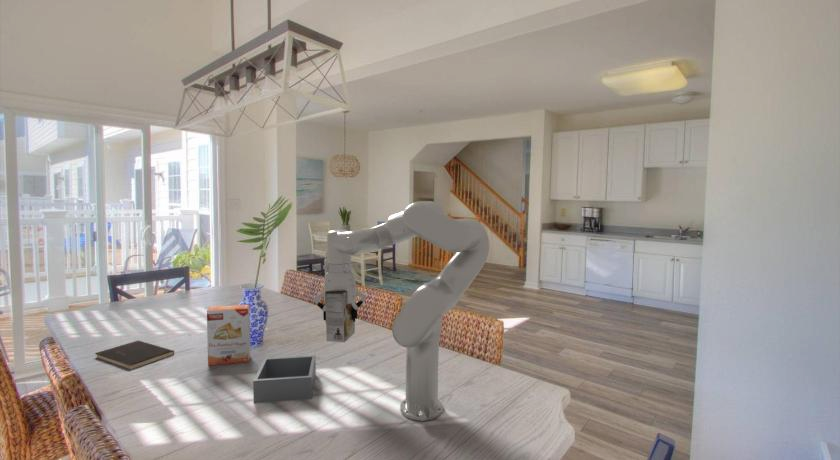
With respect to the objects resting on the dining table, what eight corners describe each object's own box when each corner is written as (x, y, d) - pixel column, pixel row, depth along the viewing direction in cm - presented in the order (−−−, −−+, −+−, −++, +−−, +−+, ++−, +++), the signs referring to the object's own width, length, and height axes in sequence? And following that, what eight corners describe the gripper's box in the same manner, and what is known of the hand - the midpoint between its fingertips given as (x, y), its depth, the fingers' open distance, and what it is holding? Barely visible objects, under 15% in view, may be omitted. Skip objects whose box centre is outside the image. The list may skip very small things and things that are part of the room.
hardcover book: (130, 371, 144) (129, 365, 143) (95, 358, 154) (95, 353, 154) (174, 355, 158) (174, 349, 158) (140, 345, 168) (139, 339, 168)
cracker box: (207, 366, 147) (205, 310, 145) (211, 360, 153) (209, 306, 151) (249, 362, 151) (247, 308, 149) (251, 356, 157) (249, 303, 155)
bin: (311, 398, 125) (311, 377, 124) (253, 403, 122) (253, 380, 121) (315, 374, 142) (315, 355, 141) (264, 378, 138) (264, 358, 138)
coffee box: (337, 332, 136) (336, 285, 135) (355, 333, 135) (354, 286, 134) (325, 341, 127) (324, 291, 126) (344, 342, 126) (344, 292, 125)
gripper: (310, 271, 124) (312, 326, 125) (367, 269, 127) (368, 323, 129) (312, 267, 131) (313, 319, 133) (366, 265, 135) (367, 316, 136)
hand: (340, 321), depth 131 cm, fingers closed on coffee box, 8 cm apart
